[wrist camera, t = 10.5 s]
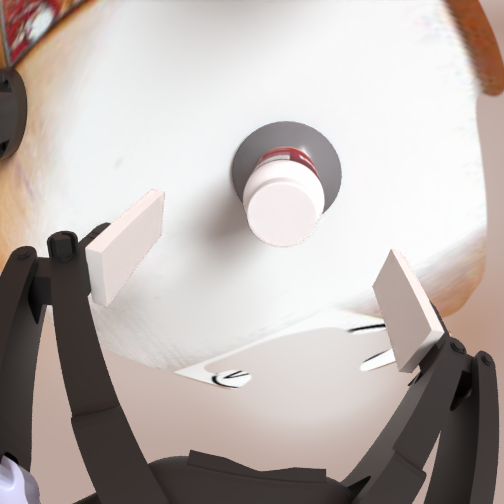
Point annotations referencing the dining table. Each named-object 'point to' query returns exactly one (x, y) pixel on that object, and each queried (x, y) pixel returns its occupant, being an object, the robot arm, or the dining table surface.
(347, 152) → the dining table surface
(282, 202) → the pill bottle
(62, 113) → the dining table surface
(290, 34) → the dining table surface
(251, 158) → the coaster
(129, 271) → the robot arm
